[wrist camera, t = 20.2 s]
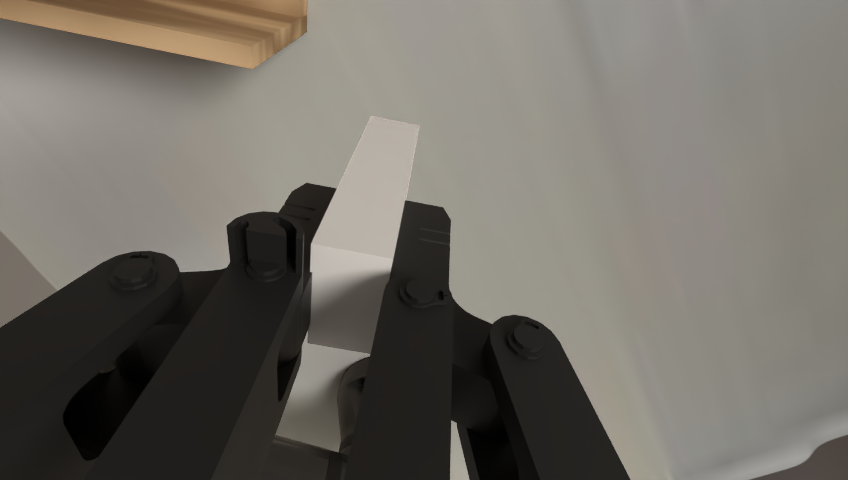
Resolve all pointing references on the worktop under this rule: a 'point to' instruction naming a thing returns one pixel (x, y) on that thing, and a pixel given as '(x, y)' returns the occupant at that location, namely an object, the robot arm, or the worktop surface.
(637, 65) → the worktop surface
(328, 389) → the worktop surface
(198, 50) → the shelf
